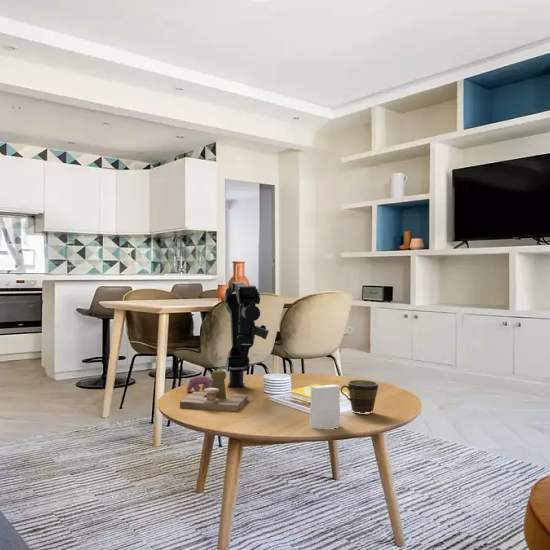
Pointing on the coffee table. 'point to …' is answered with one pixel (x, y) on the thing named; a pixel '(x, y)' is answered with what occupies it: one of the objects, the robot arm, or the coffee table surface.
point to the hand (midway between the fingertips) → (245, 360)
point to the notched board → (213, 401)
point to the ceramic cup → (362, 395)
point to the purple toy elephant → (199, 380)
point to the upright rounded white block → (325, 406)
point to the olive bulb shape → (219, 383)
